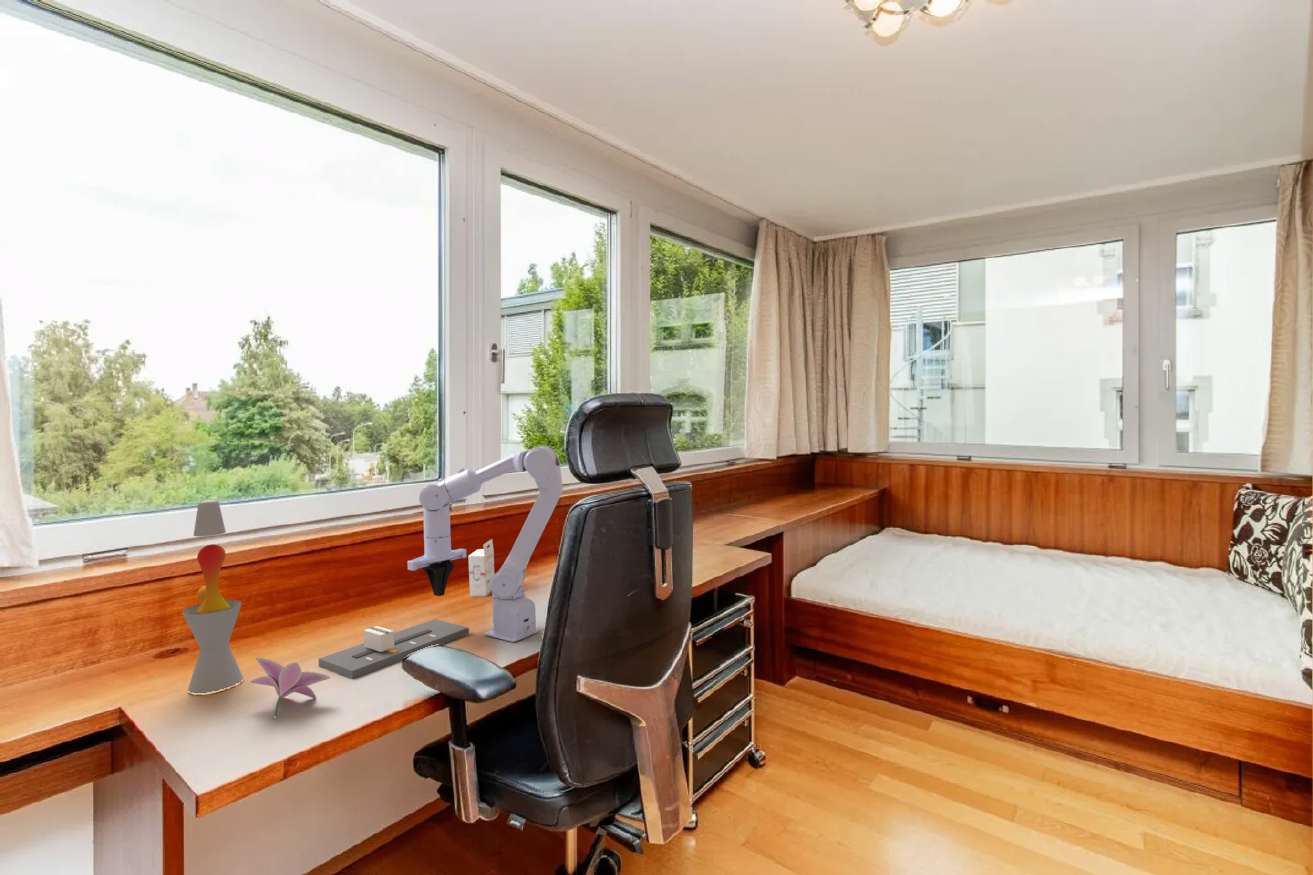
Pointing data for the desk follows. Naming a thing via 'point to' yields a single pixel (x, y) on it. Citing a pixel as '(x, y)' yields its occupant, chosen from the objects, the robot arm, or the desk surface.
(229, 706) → the desk surface
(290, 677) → the lily
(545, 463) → the robot arm
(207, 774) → the desk surface
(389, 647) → the fader tab
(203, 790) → the desk surface
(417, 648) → the board
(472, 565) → the ink cartridge box
